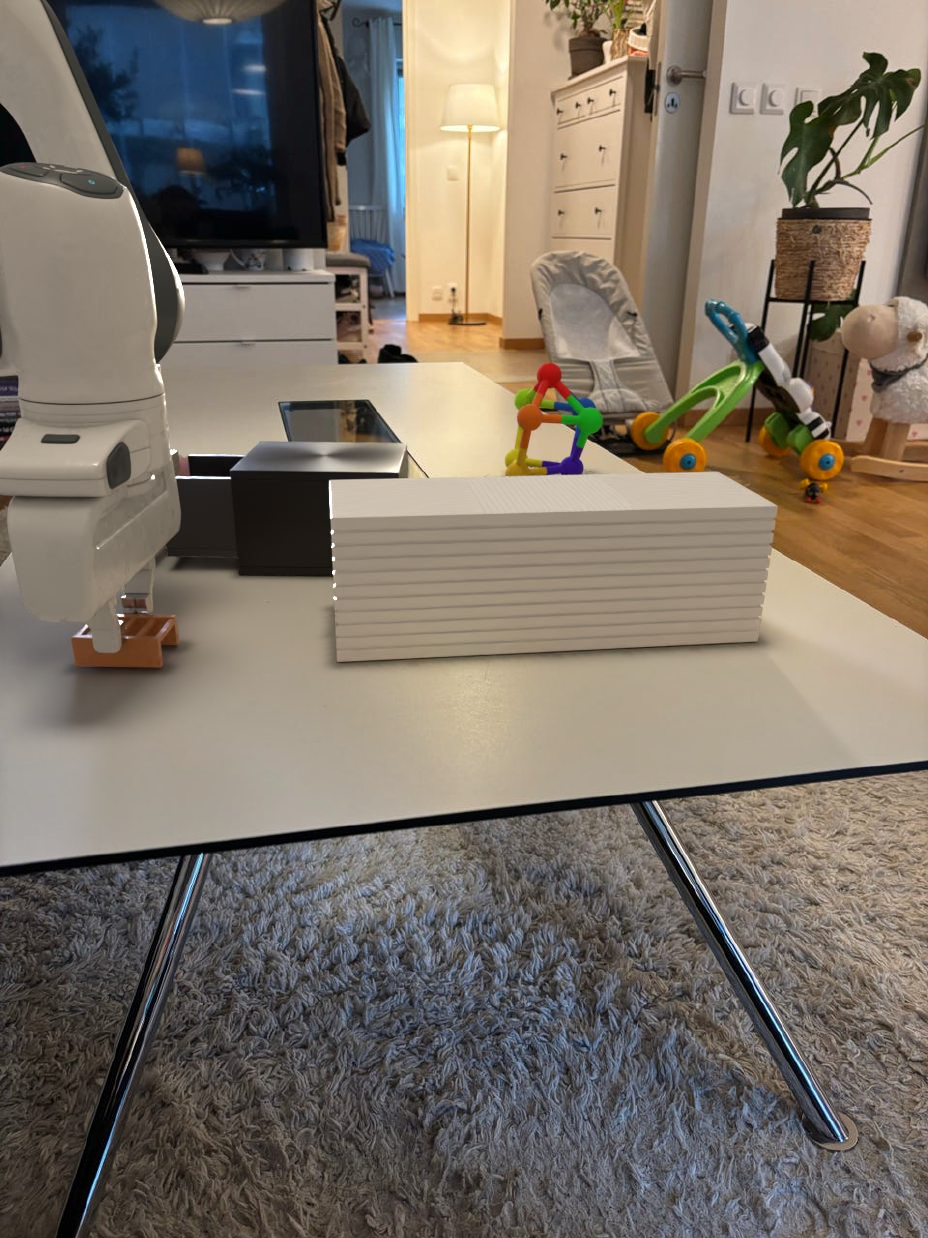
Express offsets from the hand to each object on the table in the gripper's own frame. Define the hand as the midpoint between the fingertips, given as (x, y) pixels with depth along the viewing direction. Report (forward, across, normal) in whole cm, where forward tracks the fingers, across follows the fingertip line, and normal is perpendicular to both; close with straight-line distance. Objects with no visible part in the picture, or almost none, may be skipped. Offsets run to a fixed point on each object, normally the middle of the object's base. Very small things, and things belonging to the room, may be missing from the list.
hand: (125, 632), depth 65 cm
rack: (+2, 0, 0) cm, 2 cm away
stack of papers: (+2, -7, +30) cm, 31 cm away
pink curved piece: (+2, -40, -6) cm, 40 cm away
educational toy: (+2, -56, +35) cm, 66 cm away
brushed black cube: (+2, -24, +11) cm, 27 cm away
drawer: (+1, -24, +1) cm, 24 cm away
